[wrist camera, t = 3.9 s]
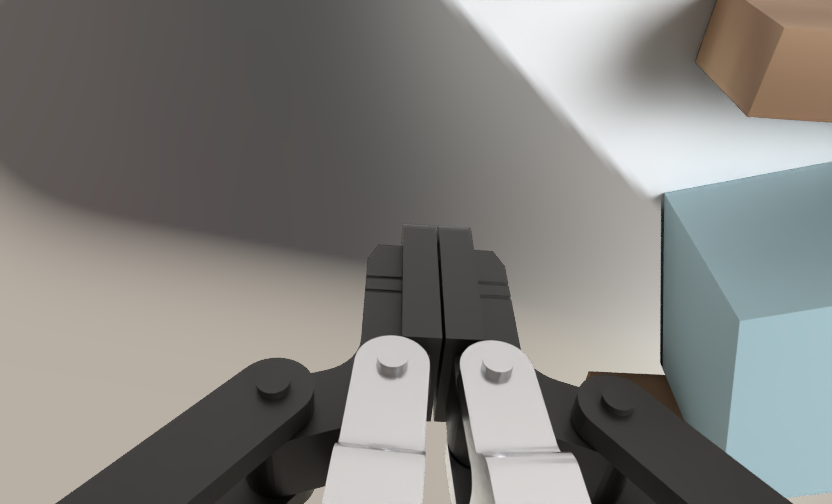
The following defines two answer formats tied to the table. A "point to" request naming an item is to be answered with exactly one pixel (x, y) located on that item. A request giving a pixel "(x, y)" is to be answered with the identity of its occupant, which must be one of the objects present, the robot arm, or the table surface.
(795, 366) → the block
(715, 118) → the table surface
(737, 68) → the maze
